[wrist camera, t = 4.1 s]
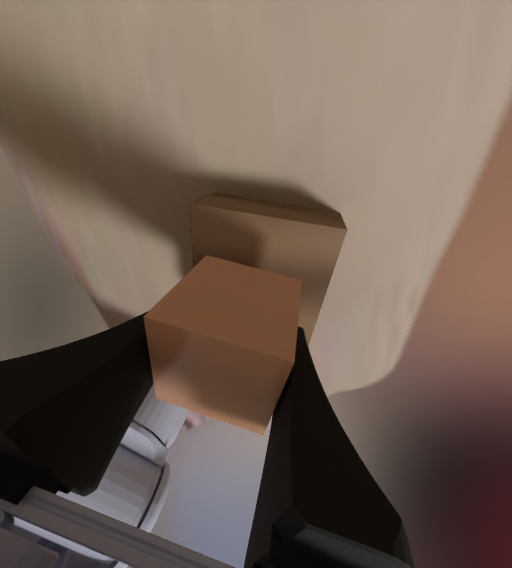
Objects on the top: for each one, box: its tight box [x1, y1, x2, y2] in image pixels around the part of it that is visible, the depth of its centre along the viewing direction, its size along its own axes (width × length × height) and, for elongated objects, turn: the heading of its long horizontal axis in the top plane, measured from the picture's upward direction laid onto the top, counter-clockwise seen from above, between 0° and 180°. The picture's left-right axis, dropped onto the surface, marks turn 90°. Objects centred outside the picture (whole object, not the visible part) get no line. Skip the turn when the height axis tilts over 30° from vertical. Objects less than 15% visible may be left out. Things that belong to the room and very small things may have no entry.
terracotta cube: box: [144, 255, 302, 435], centre depth 10 cm, size 5×5×5 cm
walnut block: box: [190, 193, 347, 345], centre depth 16 cm, size 9×9×4 cm
